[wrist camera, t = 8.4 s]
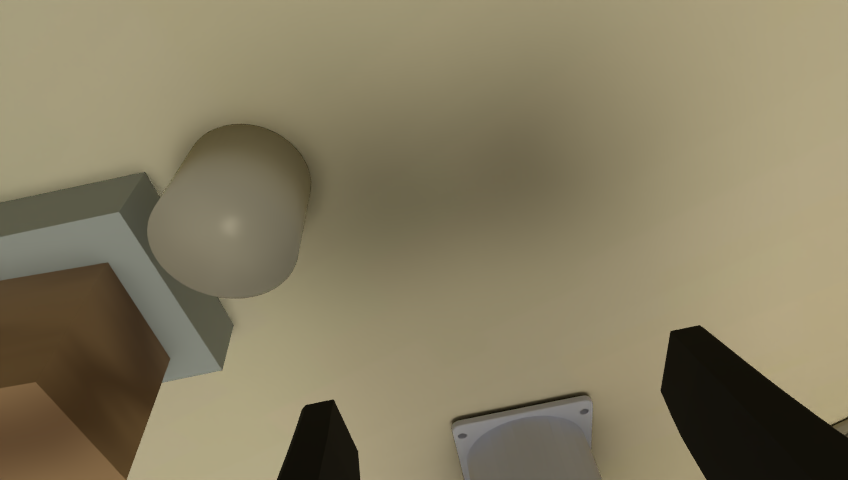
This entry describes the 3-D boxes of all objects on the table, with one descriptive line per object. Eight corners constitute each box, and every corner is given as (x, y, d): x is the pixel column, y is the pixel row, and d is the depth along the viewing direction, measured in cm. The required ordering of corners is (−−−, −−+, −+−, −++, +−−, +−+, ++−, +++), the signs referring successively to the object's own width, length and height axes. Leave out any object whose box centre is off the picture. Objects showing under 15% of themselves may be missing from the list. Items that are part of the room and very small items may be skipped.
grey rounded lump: (330, 208, 20) (322, 274, 17) (228, 243, 21) (201, 313, 17) (274, 106, 17) (252, 160, 14) (160, 149, 18) (114, 210, 15)
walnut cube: (170, 358, 20) (126, 480, 16) (44, 380, 20) (-31, 507, 16) (108, 262, 17) (35, 382, 13) (-40, 287, 17) (-157, 415, 13)
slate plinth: (235, 318, 24) (222, 370, 21) (65, 353, 24) (33, 409, 21) (148, 166, 19) (118, 211, 16) (-64, 211, 19) (-124, 263, 16)
